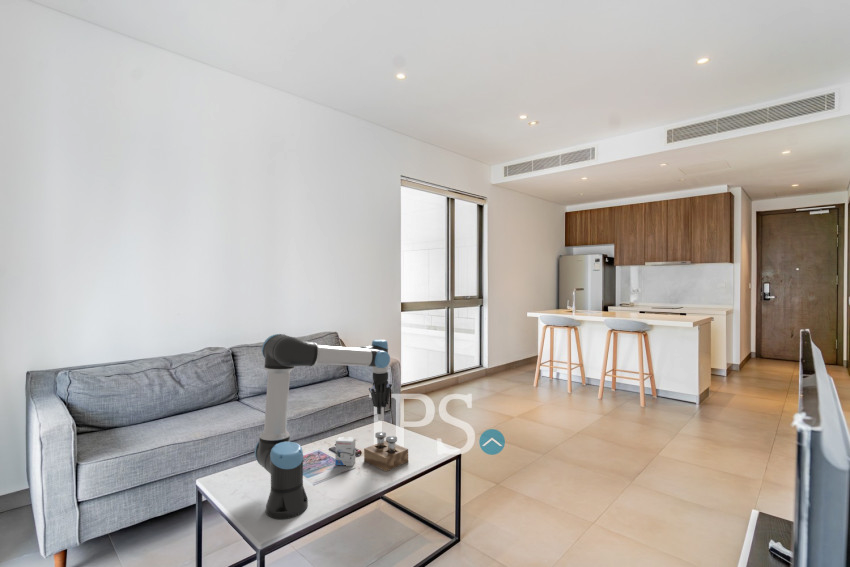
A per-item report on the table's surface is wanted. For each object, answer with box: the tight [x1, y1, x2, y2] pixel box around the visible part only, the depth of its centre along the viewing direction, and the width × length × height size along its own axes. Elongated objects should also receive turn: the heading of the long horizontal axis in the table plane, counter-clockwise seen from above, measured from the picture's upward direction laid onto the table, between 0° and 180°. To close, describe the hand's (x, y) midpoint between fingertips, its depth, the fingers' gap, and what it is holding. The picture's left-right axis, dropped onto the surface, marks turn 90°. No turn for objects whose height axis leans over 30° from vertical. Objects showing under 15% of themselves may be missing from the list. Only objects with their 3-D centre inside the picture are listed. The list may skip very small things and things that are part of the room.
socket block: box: [363, 440, 409, 472], centre depth 200 cm, size 14×16×6 cm
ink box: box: [334, 436, 356, 467], centre depth 197 cm, size 9×5×12 cm, turn 84°
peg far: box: [374, 431, 387, 449], centre depth 203 cm, size 5×5×7 cm
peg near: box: [385, 435, 398, 454], centre depth 197 cm, size 5×5×7 cm
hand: (381, 420), depth 203 cm, fingers closed
